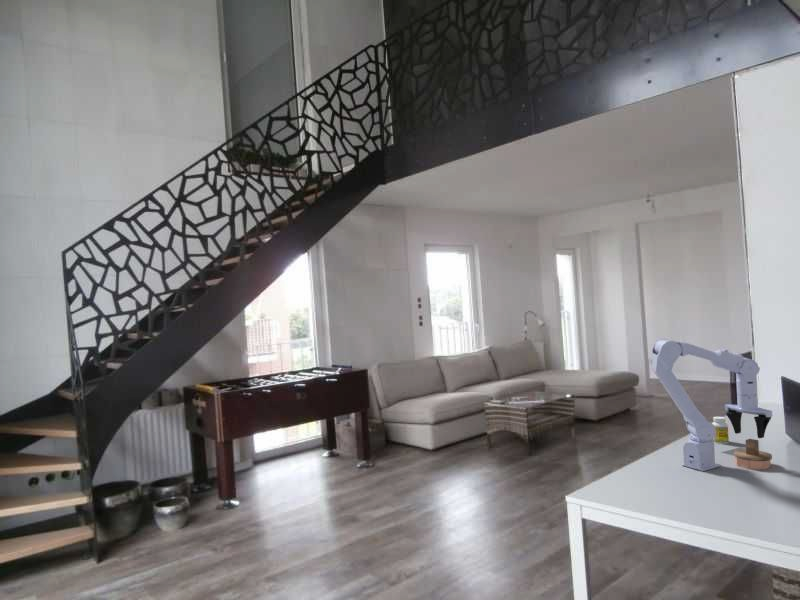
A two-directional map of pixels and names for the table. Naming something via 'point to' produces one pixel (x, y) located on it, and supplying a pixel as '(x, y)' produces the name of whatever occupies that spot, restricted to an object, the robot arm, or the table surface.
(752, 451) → the lid
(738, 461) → the bowl
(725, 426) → the supplement bottle
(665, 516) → the table surface
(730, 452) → the mat
